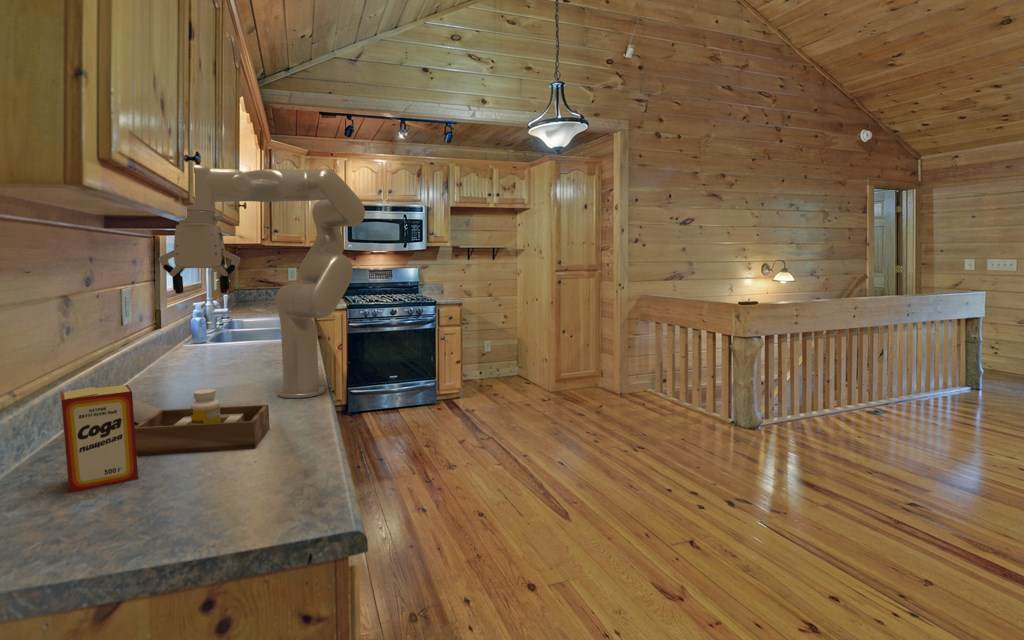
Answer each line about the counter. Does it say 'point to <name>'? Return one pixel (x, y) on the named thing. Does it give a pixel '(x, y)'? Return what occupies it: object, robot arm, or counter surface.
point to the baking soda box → (99, 436)
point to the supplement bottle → (205, 407)
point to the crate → (201, 431)
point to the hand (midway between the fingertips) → (202, 293)
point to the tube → (143, 411)
